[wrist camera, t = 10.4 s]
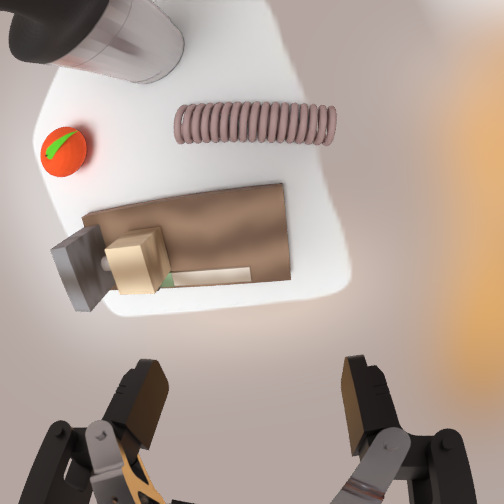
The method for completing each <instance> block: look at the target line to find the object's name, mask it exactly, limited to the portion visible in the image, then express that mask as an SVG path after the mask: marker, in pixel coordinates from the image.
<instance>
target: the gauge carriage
mask: <svg viewBox="0 0 504 504" xmlns="http://www.w3.org/2000/svg"><path fill="white" fill-rule="evenodd" d="M104 250H105V253H106V256H103V257H102V259H101V266H102V268H103V270H104V271H112V274H113V277H114V279H115V282H116V285H117V288H118V290H119V293H120V295H123V294H155V293H156V291H159V290H160V285H161V284H162V282H163V281H164V279H165V278H166V276H167V275H168V273H169V272H170V270H171V266H170V263H169V259H168V255H167V251H166V247H165V243H164V239H163V235H162V231H161V227H153V228H146V229H138V230H132V231H127V232H126V233H124V234H123V235H122V236H121V237H119V238H118V239H117V240H116V241H114V242H113V243H112V244H111V245H109V246H108V247H107V248H106V249H104Z"/></svg>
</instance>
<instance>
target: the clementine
mask: <svg viewBox="0 0 504 504" xmlns="http://www.w3.org/2000/svg"><path fill="white" fill-rule="evenodd" d="M86 152H87V146H86V141H85V138H84V136H83V135H82V133H81V132H79V130H76V129H75V128H72V127H61V128H58V129H56V130H54V131H53V132H52V133H50V134H49V135H48V136H47V138H46V139H45V141H44V143H43V145H42V148H41V162H42V165H43V167H44V168H45V170H46V171H47V172H48V173H49V174H51V175H53V176H56V177H66V176H69V175H71V174H73V173H74V172H76V171H77V170H78V169H79V168H80V166H81V165H82V164H83V162H84V160H85V157H86Z"/></svg>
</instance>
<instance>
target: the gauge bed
mask: <svg viewBox="0 0 504 504" xmlns="http://www.w3.org/2000/svg"><path fill="white" fill-rule="evenodd" d="M82 220H83V224H84V228H82V229H81V230H79V231H78V232H76V233H74V234H73V235H71V236H70V237H68V238H67V239H65V240H64V241H62V242H61V243H59V244H58V245H57V246H55V247H53V248H52V249H51V253H52V255H53V259H54V261H55V264H56V267H57V269H58V272H59V275H60V277H61V279H62V282H63V284H64V287H65V289H66V292H67V294H68V296H69V298H70V301H71V303H72V305H73V307H74V309H75V311H81V312H91V311H92V310H93V309H94V307H95V306H96V305H97V304H98V302H100V300H101V299H102V298H103V297H104V296H105V295H106V294H107V292H108V291H109V290H118V288H117V285H116V282H115V279H114V277H113V274H112V271H104V270H103V268H102V266H101V259H102V257H103V256H106V253H105V250H104V249H106V248H107V247H108V246H109V245H111V244H112V243H113V242H114V241H116V240H117V239H118V238H119V237H121V236H122V235H123V234H124V233H126V232H127V231H132V230H138V229H146V228H153V227H161V231H162V235H163V239H164V243H165V247H166V251H167V255H168V259H169V263H170V266H171V270H170V272H169V273H168V275H167V276H166V278H165V279H164V281H163V282H162V284H161V285H160V288H179V287H198V286H214V285H230V284H245V283H258V282H272V281H284V280H291V274H290V260H289V248H288V236H287V224H286V213H285V203H284V193H283V184H282V183H280V184H269V185H260V186H250V187H242V188H233V189H225V190H218V191H210V192H203V193H196V194H189V195H183V196H177V197H170V198H164V199H158V200H153V201H147V202H142V203H136V204H131V205H126V206H121V207H116V208H111V209H106V210H101V211H97V212H92V213H89V214H87V215H85V216H83V217H82Z"/></svg>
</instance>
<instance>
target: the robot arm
mask: <svg viewBox="0 0 504 504" xmlns="http://www.w3.org/2000/svg"><path fill="white" fill-rule="evenodd" d="M0 11H7V12H11V13H15V14H14V16H13V19H12V23H11V26H10V31H9V48H10V51H11V53H12V54H13V56H14V57H15V58H17V59H18V60H21V61H24V62H30V63H39V64H46V65H54V66H60V67H67V68H72V69H78V70H83V71H88V72H93V73H97V74H102V75H106V76H110V77H115V78H119V79H122V80H126V81H130V82H134V83H138V84H147V83H151V82H154V81H157V80H159V79H161V78H163V77H164V76H166V75H167V74H168V73H169V72H170V71H172V70H173V68H174V67H175V66H176V65H177V63H178V61H179V60H180V58H181V55H182V52H183V47H184V42H183V37H182V34H181V32H180V31H179V30H178V28H177V27H176V26H175V25H173V24H172V23H171V22H170V18H169V17H168V16H167V15H166V14H165V13H164V12H163V11H162V10H161V9H160V8H159V7H158V6H156V5H155V4H154V3H153V2H152V1H151V0H0ZM168 391H169V385H168V381H167V378H166V376H165V374H164V372H163V370H162V368H161V366H160V364H159V362H158V361H157V360H151V359H140V360H139V362H138V363H137V366H136V368H135V369H130V370H129V371H128V372H127V373H126V374H125V375H124V376H123V378H122V380H121V382H120V384H119V387H118V388H117V390H116V393H115V394H114V396H113V398H112V400H111V402H110V404H109V406H108V408H107V410H106V412H105V415H104V417H103V418H102V420H98V421H95V422H93V423H91V424H90V425H89V426H88V427H87V428H72V427H71V426H70V425H69V424H68V423H67V422H65V421H61V420H60V421H56V422H54V423H53V424H52V425H51V426H50V428H49V430H48V432H47V434H46V436H45V438H44V440H43V443H42V445H41V447H40V449H39V452H38V454H37V456H36V459H35V461H34V463H33V466H32V468H31V471H30V473H29V476H28V478H27V481H26V484H25V486H24V489H23V492H22V495H21V497H20V500H19V503H18V504H89V502H90V498H91V495H92V491H94V494H95V497H96V500H97V503H98V504H166V503H165V501H164V500H163V498H162V497H161V495H160V494H159V493H158V492H157V490H156V489H155V488H154V486H153V484H152V482H151V480H150V478H149V476H148V474H147V471H146V469H145V467H144V465H143V462H142V460H141V458H140V455H139V454H138V452H139V449H140V448H142V449H146V450H149V448H150V445H151V442H152V438H153V436H154V433H155V430H156V427H157V424H158V421H159V418H160V415H161V412H162V409H163V406H164V403H165V401H166V398H167V395H168ZM341 391H342V397H343V403H344V407H345V414H346V420H347V426H348V432H349V439H350V446H351V453H352V456H357V455H359V457H360V463H359V465H358V466H357V468H356V469H355V471H354V472H353V474H352V475H351V477H350V478H349V479H348V481H347V482H346V484H345V485H344V486H343V487H342V489H341V490H340V492H339V493H338V494H337V495H336V496H335V498H334V499H333V500H332V502H331V503H330V504H381V503H382V501H383V499H384V495H385V493H386V491H387V489H388V488H389V486H390V484H391V483H392V481H393V480H407V484H408V492H409V502H410V504H477V500H476V494H475V489H474V484H473V479H472V474H471V470H470V465H469V461H468V457H467V454H466V450H465V446H464V443H463V439H462V437H461V435H460V434H459V433H458V432H457V431H456V430H453V429H443V430H440V431H439V432H437V433H436V434H435V435H434V436H415V435H411V434H409V433H407V432H406V431H404V430H403V429H402V427H401V426H400V424H399V421H398V418H397V414H396V411H395V407H394V404H393V401H392V398H391V395H390V391H389V388H388V386H387V382H386V379H385V376H384V374H383V372H382V371H381V370H380V369H379V368H378V367H377V366H375V365H374V366H367V363H366V360H365V357H364V355H356V356H348V357H345V361H344V367H343V373H342V378H341ZM70 458H71V459H72V461H71V464H70V467H69V469H68V472H67V475H66V478H65V480H64V472H65V470H66V467H67V464H68V462H69V459H70ZM171 504H194V503H188V502H182V501H177V500H172V502H171Z"/></svg>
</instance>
